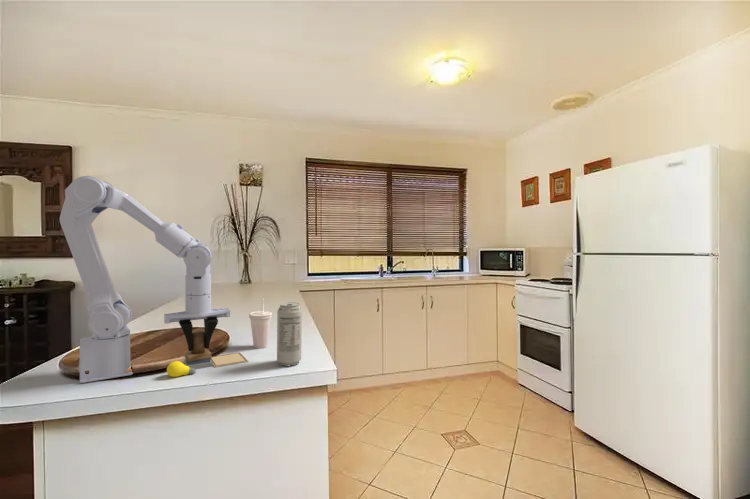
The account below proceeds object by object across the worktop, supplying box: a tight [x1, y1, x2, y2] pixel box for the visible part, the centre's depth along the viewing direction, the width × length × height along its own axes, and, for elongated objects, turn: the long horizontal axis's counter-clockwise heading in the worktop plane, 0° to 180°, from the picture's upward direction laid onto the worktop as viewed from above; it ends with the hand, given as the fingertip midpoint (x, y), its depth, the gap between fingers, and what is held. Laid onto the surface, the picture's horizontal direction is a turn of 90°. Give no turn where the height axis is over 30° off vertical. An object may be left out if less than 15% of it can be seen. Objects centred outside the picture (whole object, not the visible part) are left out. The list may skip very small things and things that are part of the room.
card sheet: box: [211, 351, 249, 368], centre depth 96 cm, size 8×8×1 cm
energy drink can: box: [276, 302, 303, 367], centre depth 94 cm, size 6×6×15 cm
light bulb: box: [166, 360, 197, 378], centre depth 85 cm, size 3×6×4 cm, turn 117°
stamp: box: [184, 331, 212, 363], centre depth 92 cm, size 5×5×6 cm
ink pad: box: [183, 358, 214, 370], centre depth 92 cm, size 6×6×1 cm
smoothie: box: [248, 297, 273, 349], centre depth 107 cm, size 6×6×14 cm
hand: (198, 348), depth 92 cm, fingers closed on stamp, 3 cm apart
